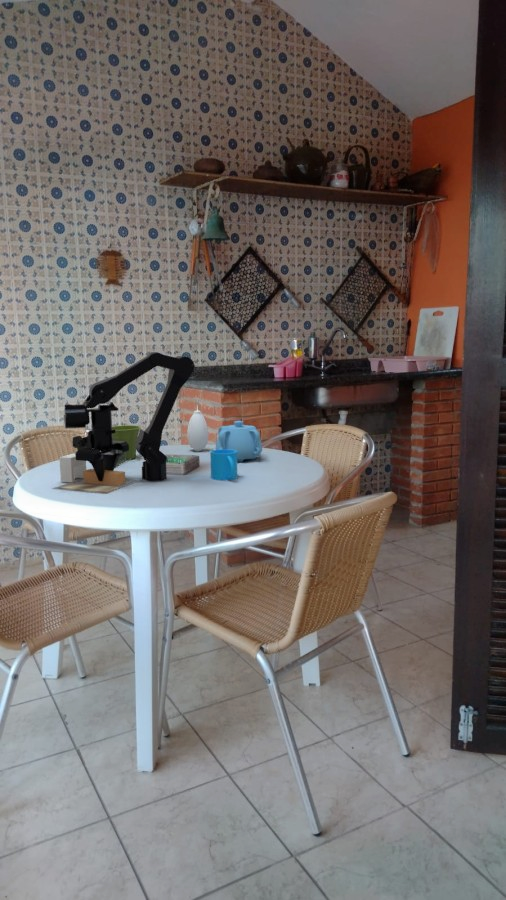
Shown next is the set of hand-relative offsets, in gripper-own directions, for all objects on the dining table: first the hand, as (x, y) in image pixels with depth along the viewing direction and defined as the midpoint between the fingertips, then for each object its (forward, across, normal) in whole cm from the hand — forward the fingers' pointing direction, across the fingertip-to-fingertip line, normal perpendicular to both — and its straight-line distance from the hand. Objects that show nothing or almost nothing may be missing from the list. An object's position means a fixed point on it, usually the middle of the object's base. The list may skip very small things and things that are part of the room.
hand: (104, 479), depth 189 cm
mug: (+2, -22, +29) cm, 36 cm away
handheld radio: (+3, -24, -14) cm, 28 cm away
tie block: (+1, 0, -11) cm, 11 cm away
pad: (+1, +8, 0) cm, 8 cm away
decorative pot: (+2, -53, +20) cm, 57 cm away
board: (+2, +2, -1) cm, 3 cm away
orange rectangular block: (+1, 0, 0) cm, 1 cm away
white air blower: (+2, -62, -1) cm, 62 cm away
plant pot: (+2, -40, -19) cm, 44 cm away
